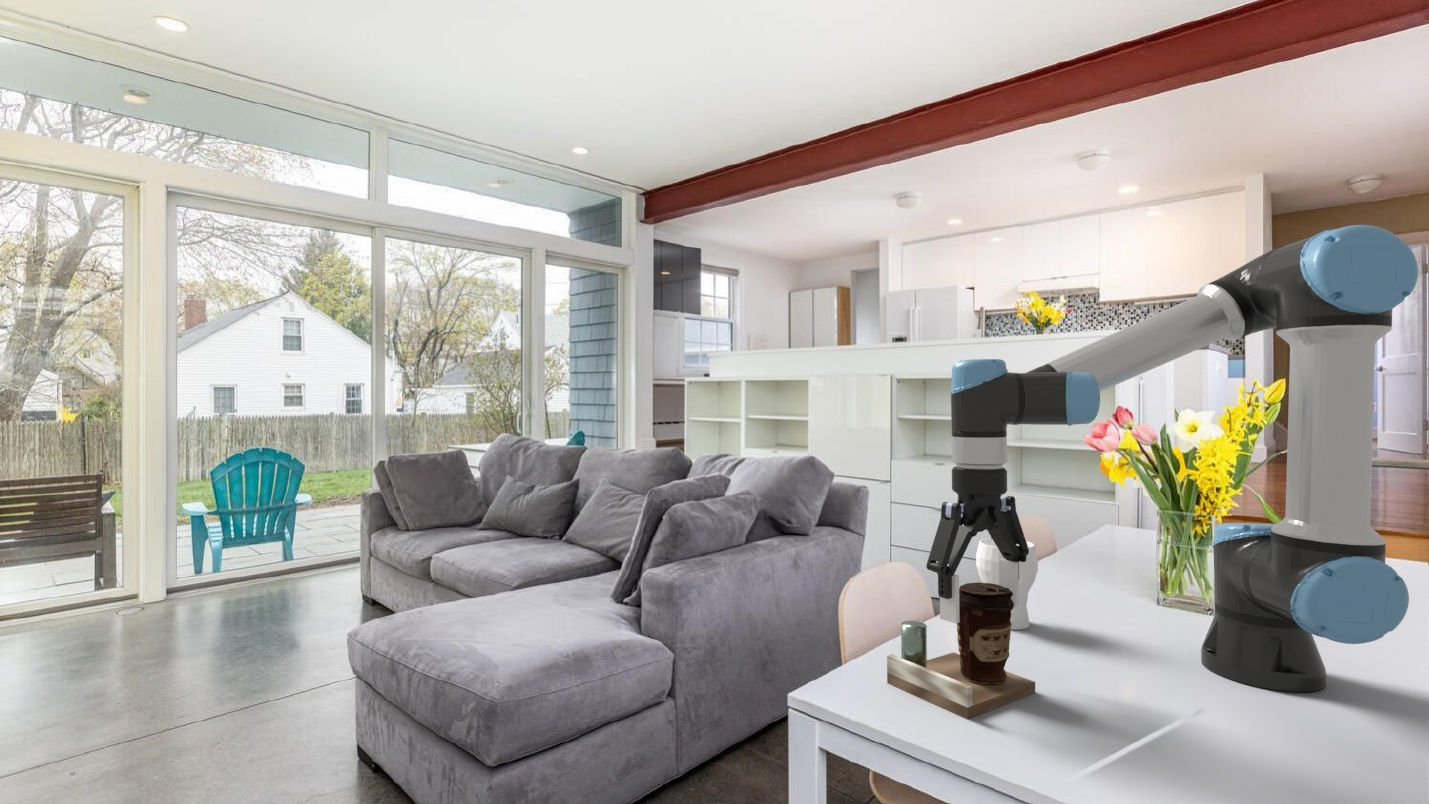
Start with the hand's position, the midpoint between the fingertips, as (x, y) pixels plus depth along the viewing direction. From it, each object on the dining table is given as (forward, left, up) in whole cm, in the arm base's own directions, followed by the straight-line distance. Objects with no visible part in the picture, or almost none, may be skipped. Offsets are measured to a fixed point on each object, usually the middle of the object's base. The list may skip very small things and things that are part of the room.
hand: (980, 612), depth 101 cm
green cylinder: (+7, +7, -9) cm, 13 cm away
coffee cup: (0, 0, -10) cm, 10 cm away
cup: (+16, -29, -11) cm, 35 cm away
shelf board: (+2, +3, -11) cm, 11 cm away
